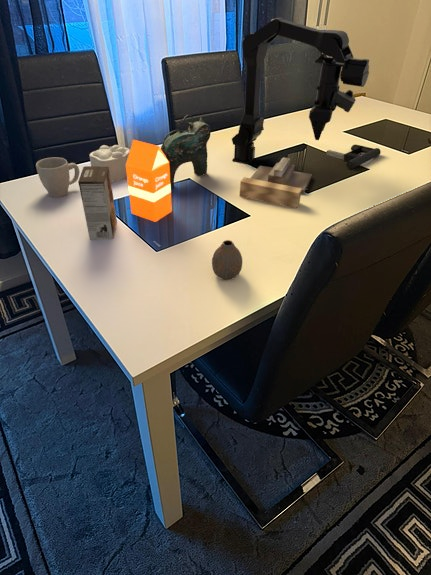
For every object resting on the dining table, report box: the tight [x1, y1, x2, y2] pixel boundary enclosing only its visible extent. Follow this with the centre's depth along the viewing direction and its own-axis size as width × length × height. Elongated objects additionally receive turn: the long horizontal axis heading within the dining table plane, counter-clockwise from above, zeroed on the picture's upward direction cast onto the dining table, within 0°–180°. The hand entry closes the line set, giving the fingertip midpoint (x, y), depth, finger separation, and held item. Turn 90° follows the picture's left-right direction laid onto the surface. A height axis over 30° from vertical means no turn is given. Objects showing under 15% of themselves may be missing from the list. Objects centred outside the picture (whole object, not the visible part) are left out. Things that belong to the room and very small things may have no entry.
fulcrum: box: [250, 156, 313, 195], centre depth 135 cm, size 18×13×6 cm
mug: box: [35, 156, 81, 198], centre depth 125 cm, size 12×9×10 cm
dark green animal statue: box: [160, 114, 211, 188], centre depth 131 cm, size 20×6×20 cm, turn 135°
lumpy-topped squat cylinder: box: [89, 144, 130, 183], centre depth 137 cm, size 10×13×9 cm
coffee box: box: [77, 165, 118, 240], centre depth 106 cm, size 9×6×16 cm
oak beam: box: [239, 176, 302, 209], centre depth 125 cm, size 18×4×5 cm, turn 66°
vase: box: [211, 239, 243, 281], centre depth 94 cm, size 7×7×9 cm
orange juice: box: [126, 139, 173, 223], centre depth 113 cm, size 8×9×20 cm
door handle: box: [325, 143, 382, 170], centre depth 154 cm, size 3×20×16 cm
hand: (319, 135), depth 132 cm, fingers open, 9 cm apart
